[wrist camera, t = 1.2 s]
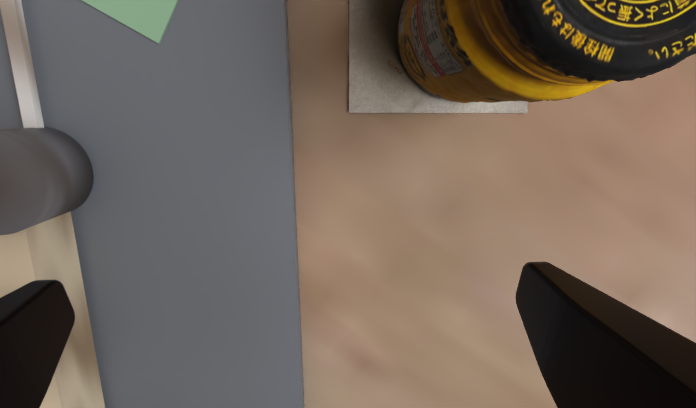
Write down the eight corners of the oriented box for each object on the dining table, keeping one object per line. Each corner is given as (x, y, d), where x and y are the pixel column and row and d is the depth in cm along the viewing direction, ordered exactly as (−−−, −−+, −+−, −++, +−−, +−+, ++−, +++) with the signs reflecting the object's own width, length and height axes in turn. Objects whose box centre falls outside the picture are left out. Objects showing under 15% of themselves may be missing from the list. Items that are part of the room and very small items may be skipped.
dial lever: (134, 429, 22) (100, 483, 19) (58, 431, 22) (12, 485, 19) (53, -78, 16) (-15, -121, 13) (-48, -77, 16) (-140, -120, 13)
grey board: (305, 424, 23) (303, 440, 22) (-49, 432, 23) (-68, 448, 22) (282, -94, 17) (278, -107, 16) (-197, -91, 17) (-233, -104, 16)
